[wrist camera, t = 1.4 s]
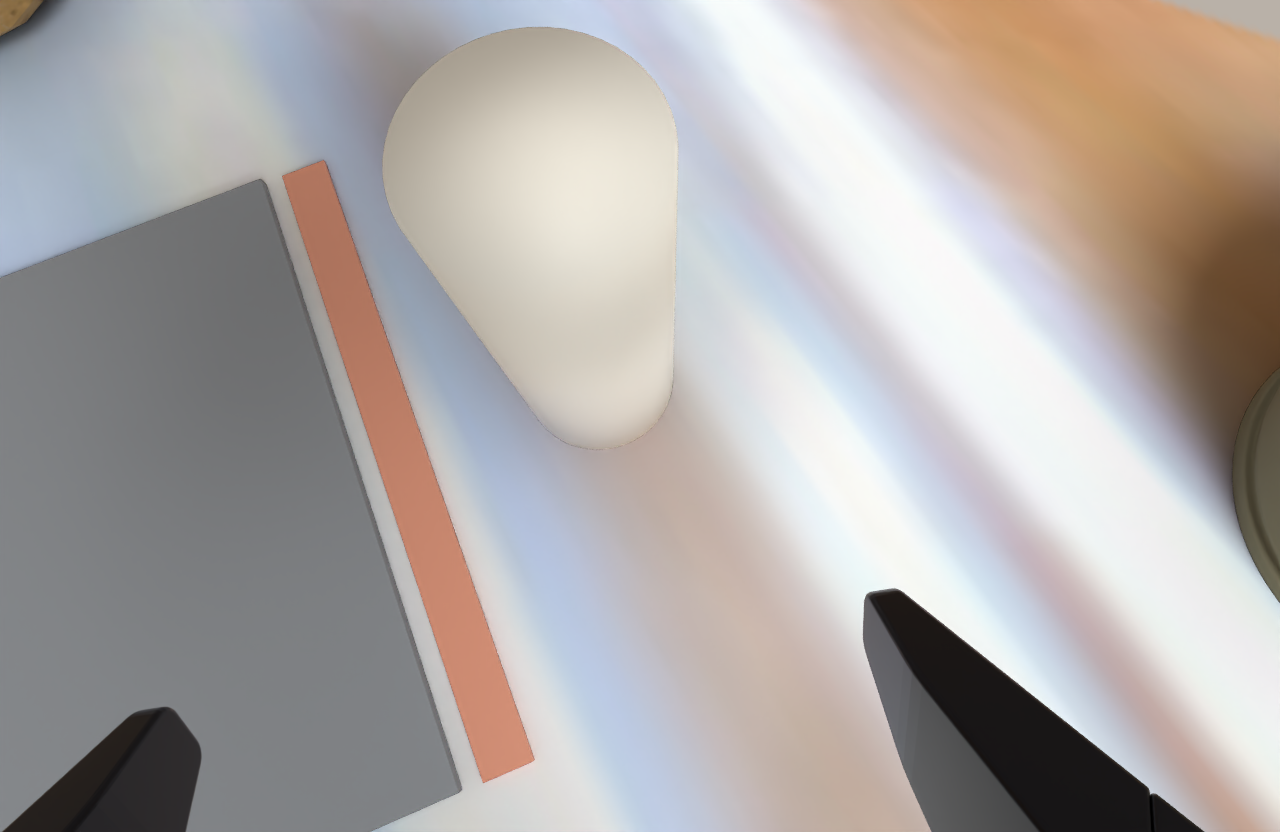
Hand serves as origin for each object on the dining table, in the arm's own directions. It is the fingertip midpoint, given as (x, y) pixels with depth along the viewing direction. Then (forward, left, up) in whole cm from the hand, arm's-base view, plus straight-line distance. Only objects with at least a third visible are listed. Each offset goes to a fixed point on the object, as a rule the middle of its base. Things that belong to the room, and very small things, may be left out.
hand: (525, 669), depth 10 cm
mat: (+17, +7, -14) cm, 23 cm away
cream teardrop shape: (+4, -7, -14) cm, 16 cm away
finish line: (+9, -2, -14) cm, 17 cm away
